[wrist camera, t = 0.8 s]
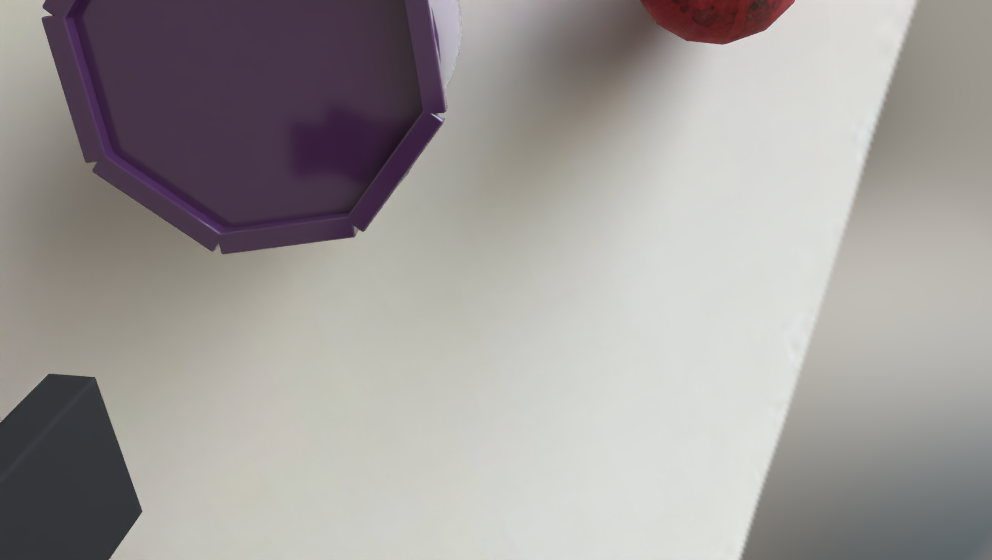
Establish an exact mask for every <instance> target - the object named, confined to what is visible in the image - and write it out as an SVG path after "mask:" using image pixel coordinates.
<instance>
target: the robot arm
mask: <svg viewBox="0 0 992 560" xmlns="http://www.w3.org/2000/svg"><path fill="white" fill-rule="evenodd" d="M141 513H142V509H141V506H140V503H139V501H138V498H137V495H136V492H135V489H134V486H133V484H132V481H131V478H130V475H129V472H128V469H127V467H126V464H125V461H124V458H123V455H122V452H121V450H120V447H119V444H118V441H117V438H116V435H115V433H114V430H113V427H112V424H111V421H110V418H109V416H108V413H107V410H106V407H105V404H104V401H103V399H102V396H101V393H100V390H99V387H98V384H97V382H96V379H95V377H85V376H72V375H58V374H48V375H47V376H46V377H45V378H44V379H43V380H42V381H41V382H40V383H39V384H38V385H37V386H36V387H35V388H34V389H33V390H32V391H31V392H30V393H29V394H28V395H27V396H26V397H25V398H24V399H23V400H22V401H21V402H20V403H19V404H18V405H17V406H16V407H15V408H14V409H13V410H12V411H11V412H10V413H9V415H8V416H7V417H6V418H5V419H4V420H3V421H2V422H1V423H0V560H109V559H110V557H111V556H112V554H113V553H114V551H115V550H116V549H117V547H118V546H119V544H120V543H121V541H122V540H123V539H124V537H125V536H126V534H127V533H128V531H129V530H130V529H131V527H132V526H133V524H134V523H135V521H136V520H137V519H138V517H139V516H140V514H141Z"/></svg>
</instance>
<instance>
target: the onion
mask: <svg viewBox="0 0 992 560" xmlns="http://www.w3.org/2000/svg"><path fill="white" fill-rule="evenodd" d="M640 1H641V2H642V4H643V5H644V7H645V8H646V9H647V11H648V12H649V13H650V15H651V16H652V18H653V19H654V20H655V22H656V23H657V24H658V25H660V26H662V27H663V28H665V29H667V30H669V31H670V32H672V33H674V34H676V35H677V36H679V37H681V38H683V39H685V40H686V41H694V42H704V43H713V44H727V43H730V42H733V41H736V40H739V39H741V38H744V37H747V36H750V35H753V34H756V33H759V32H761V31H764V30H766V29H767V28H768V27H769V26H770V25H771V24H772V23H773V22H774V21H775V20H776V19H777V18H778V17H779V16H781V15H782V14H783V13H784V12H785V11H786V10H787V9H788V8H789V7H790V6H791V5H792V4H793V3H794V1H795V0H640Z"/></svg>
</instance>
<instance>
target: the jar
mask: <svg viewBox="0 0 992 560" xmlns="http://www.w3.org/2000/svg"><path fill="white" fill-rule="evenodd" d="M43 9H45V10H46V11H48V12H49V13H50V14H52V16H46V17H43V18H42V22H43V26H44V29H45V32H46V35H47V39H48V42H49V45H50V49H51V52H52V55H53V58H54V62H55V65H56V68H57V71H58V75H59V78H60V81H61V84H62V88H63V91H64V94H65V97H66V101H67V104H68V107H69V110H70V114H71V117H72V120H73V124H74V127H75V130H76V133H77V137H78V140H79V143H80V146H81V150H82V153H83V156H84V159H85V162H86V163H91V162H97V163H96V165H95V166H94V168H93V172H94V173H95V174H97V175H98V176H100V177H101V178H103V179H104V180H106V181H107V182H109V183H110V184H112V185H113V186H115V187H116V188H118V189H119V190H121V191H122V192H124V193H125V194H127V195H128V196H130V197H131V198H133V199H134V200H136V201H137V202H139V203H140V204H142V205H143V206H145V207H146V208H148V209H149V210H150V211H152V212H153V213H155V214H156V215H158V216H159V217H161V218H162V219H164V220H165V221H167V222H168V223H170V224H171V225H173V226H174V227H176V228H177V229H179V230H180V231H182V232H183V233H185V234H186V235H188V236H189V237H191V238H192V239H194V240H195V241H197V242H198V243H200V244H201V245H203V246H204V247H206V248H207V249H209V250H210V251H212V252H213V251H215V250H216V249H217V248H218V247H219V245H220V249H221V253H222V254H230V253H238V252H245V251H253V250H261V249H268V248H276V247H283V246H291V245H299V244H306V243H314V242H322V241H329V240H337V239H344V238H352V237H355V236H356V234H357V233H358V229H359V230H360V231H362V232H364V231H365V230H366V229H367V227H368V226H369V224H370V223H371V222H372V220H373V219H374V218H375V216H376V215H377V213H378V212H379V211H380V209H381V208H382V207H383V205H384V204H385V202H386V201H387V200H388V198H389V197H390V196H391V194H392V193H393V191H394V190H395V189H396V187H397V186H398V185H399V184H400V183H401V182H402V180H403V179H404V178H405V177H406V176H407V174H408V173H409V171H410V169H411V168H412V166H413V165H414V163H415V162H416V160H417V159H418V157H419V156H420V154H421V153H422V152H423V150H424V149H425V148H426V146H427V145H428V143H429V142H430V141H431V139H432V138H433V137H434V135H435V134H436V132H437V131H438V130H439V128H440V127H441V126H442V124H443V122H444V120H445V118H444V117H443V116H441V115H440V114H439V113H444V112H446V110H447V101H446V95H445V88H446V86H447V85H448V82H449V80H450V78H451V76H452V74H453V71H454V68H455V65H456V62H457V58H458V54H459V48H460V42H461V14H460V6H459V1H458V0H46V1H45V3H44V4H43Z"/></svg>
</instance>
